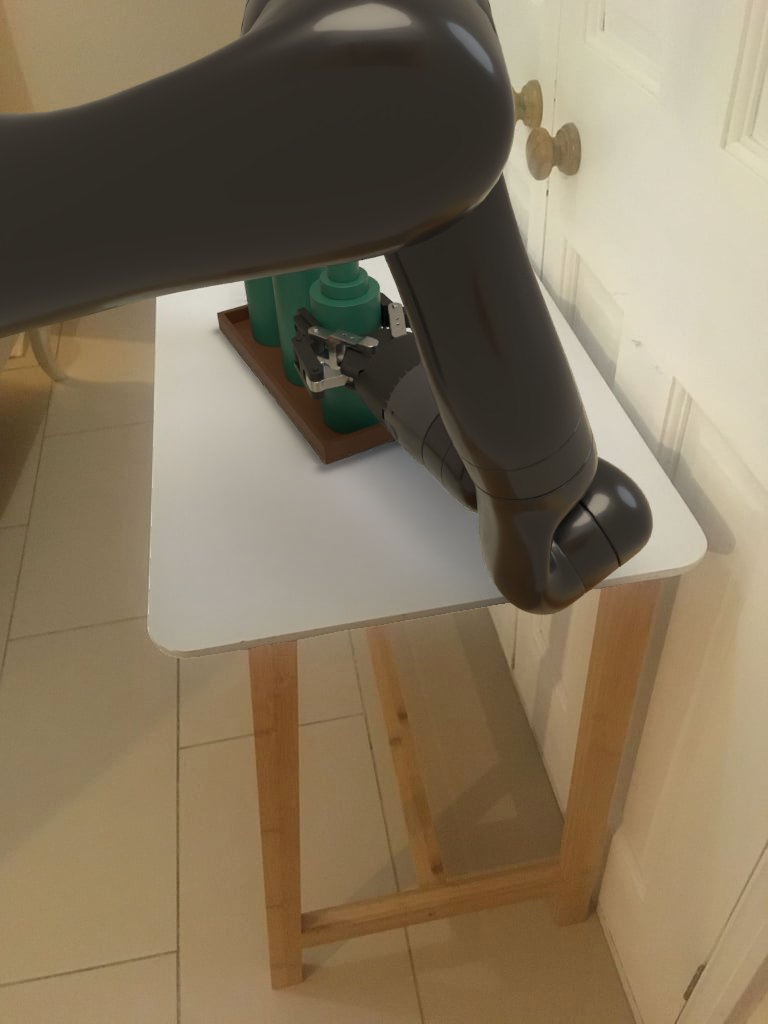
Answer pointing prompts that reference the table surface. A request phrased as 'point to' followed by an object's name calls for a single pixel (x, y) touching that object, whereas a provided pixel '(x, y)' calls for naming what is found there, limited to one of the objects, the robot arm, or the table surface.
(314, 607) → the table surface
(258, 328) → the row bottle far
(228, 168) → the robot arm
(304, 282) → the row bottle middle
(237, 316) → the tray
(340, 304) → the green bottle
